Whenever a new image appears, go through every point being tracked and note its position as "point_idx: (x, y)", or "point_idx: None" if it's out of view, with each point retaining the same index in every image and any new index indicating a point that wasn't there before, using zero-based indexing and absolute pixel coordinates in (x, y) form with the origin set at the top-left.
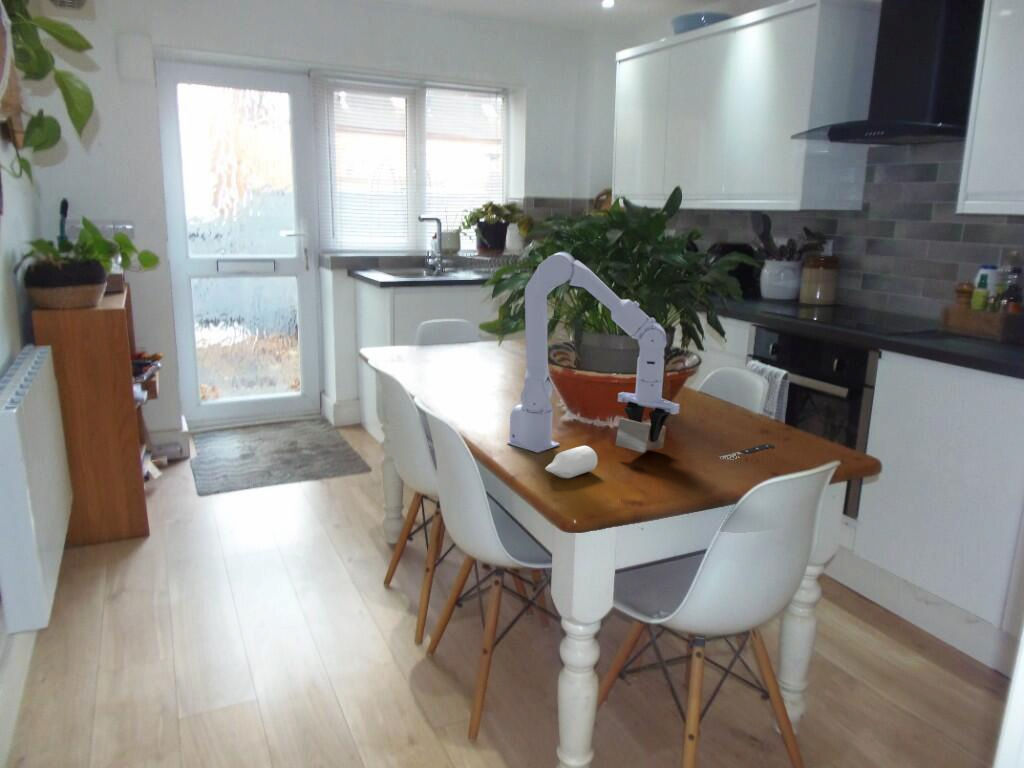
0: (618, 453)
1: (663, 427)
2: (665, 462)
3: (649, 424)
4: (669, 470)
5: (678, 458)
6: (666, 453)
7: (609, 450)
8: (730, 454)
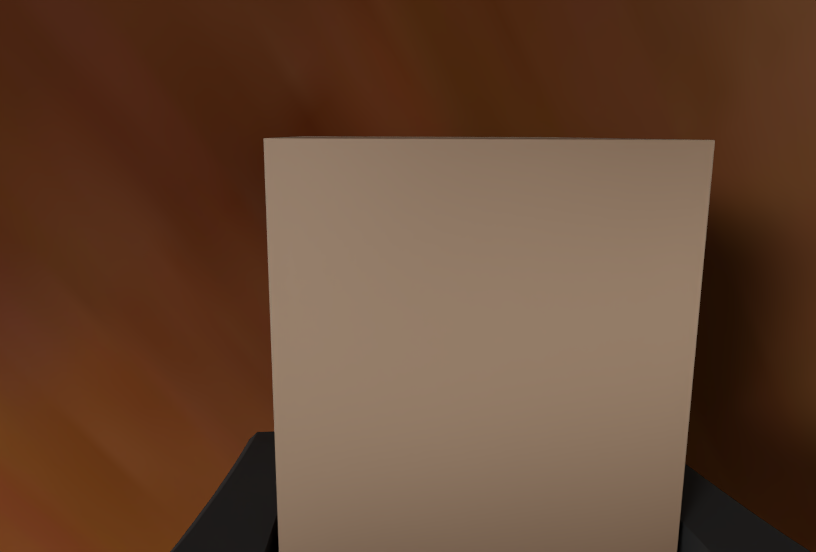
0: (193, 501)
1: (695, 271)
2: (702, 383)
3: (418, 453)
4: (805, 521)
5: (780, 174)
6: (594, 117)
7: (61, 496)
8: None
